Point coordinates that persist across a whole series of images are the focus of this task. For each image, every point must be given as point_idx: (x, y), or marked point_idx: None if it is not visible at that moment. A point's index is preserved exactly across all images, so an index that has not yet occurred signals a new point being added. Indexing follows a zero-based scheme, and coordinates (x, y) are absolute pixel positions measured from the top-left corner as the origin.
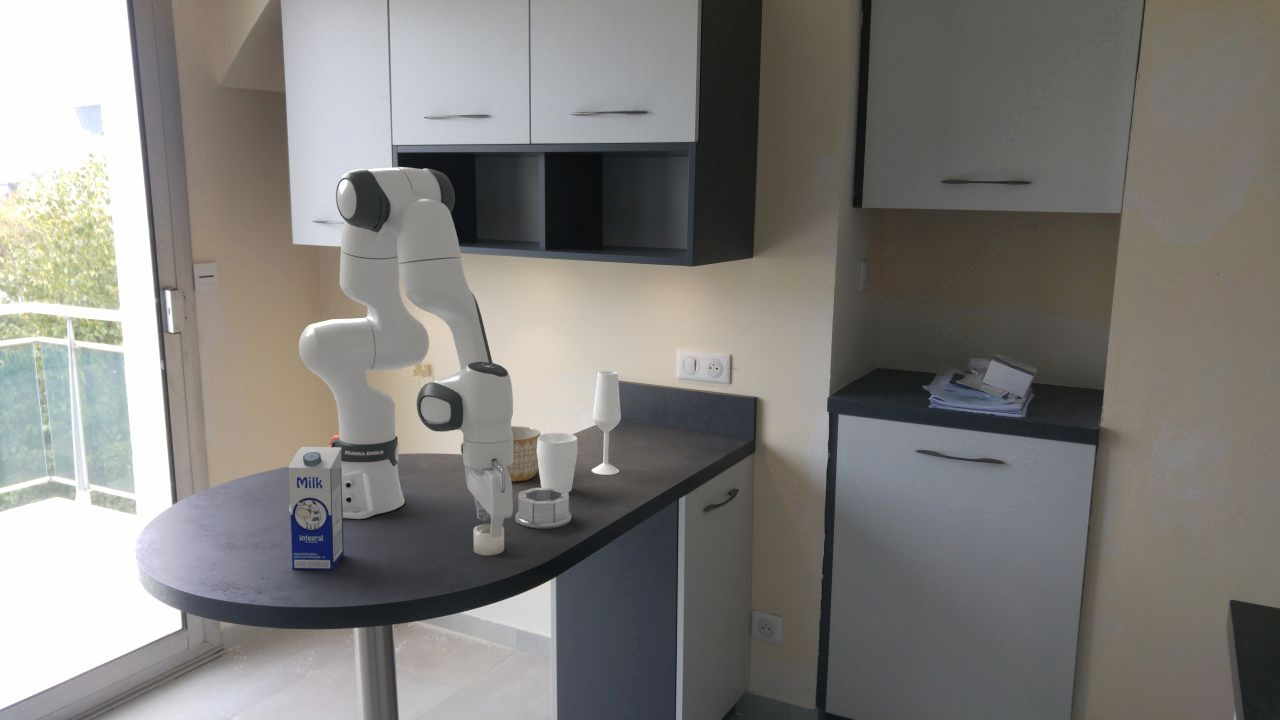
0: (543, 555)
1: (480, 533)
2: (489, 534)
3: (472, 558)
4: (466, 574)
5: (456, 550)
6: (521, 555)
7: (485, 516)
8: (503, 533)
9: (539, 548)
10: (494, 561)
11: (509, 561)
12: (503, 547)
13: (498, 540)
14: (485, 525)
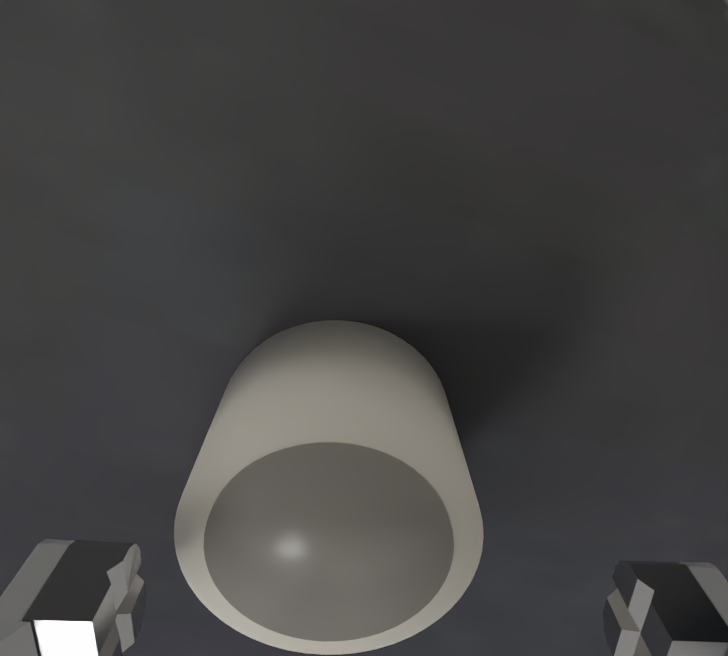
0: (662, 48)
1: (417, 626)
2: (475, 571)
3: None
4: None
5: None
6: (560, 238)
7: (120, 593)
8: (416, 415)
9: (483, 18)
10: (567, 448)
11: (623, 359)
12: (405, 351)
13: (460, 448)
14: (237, 559)
